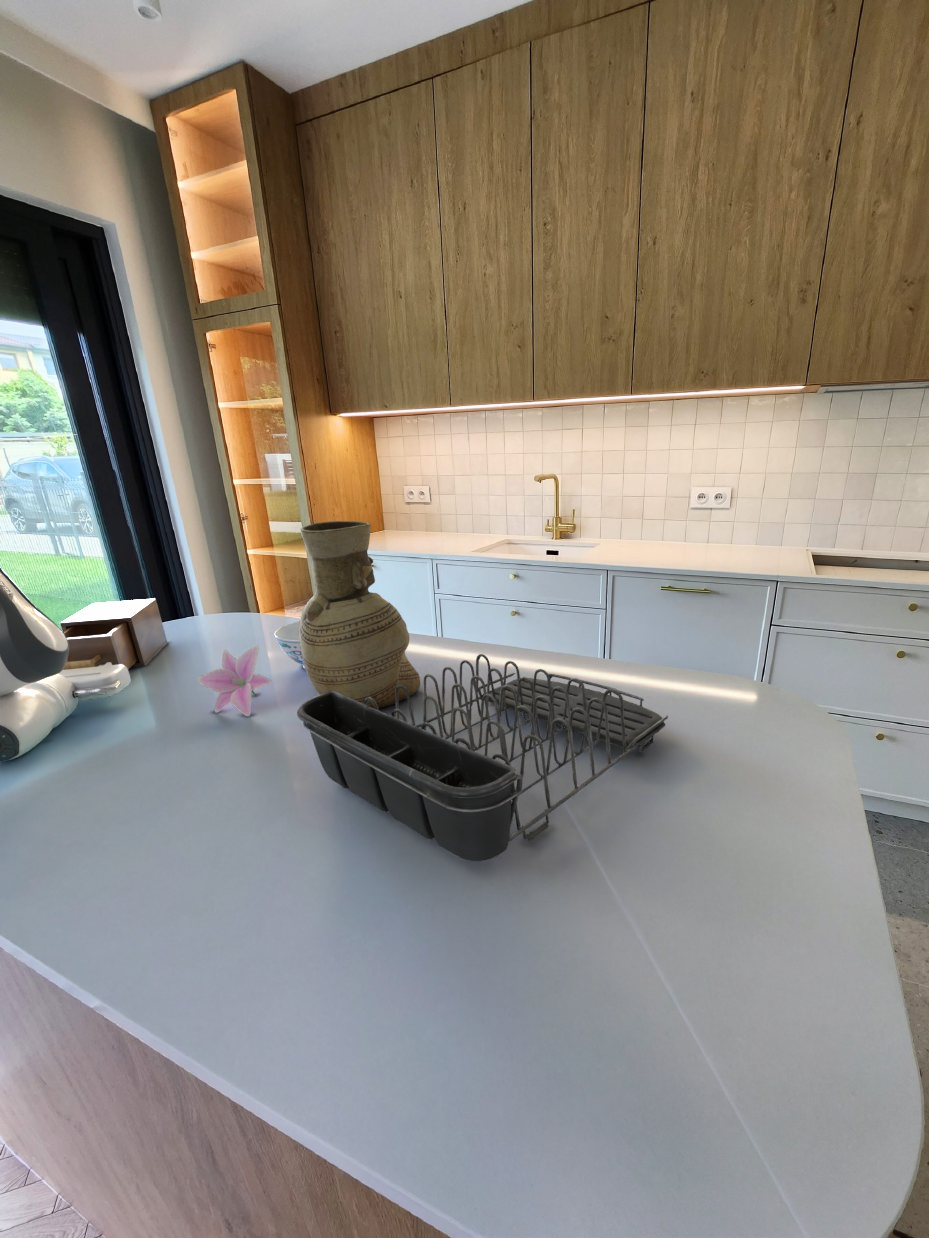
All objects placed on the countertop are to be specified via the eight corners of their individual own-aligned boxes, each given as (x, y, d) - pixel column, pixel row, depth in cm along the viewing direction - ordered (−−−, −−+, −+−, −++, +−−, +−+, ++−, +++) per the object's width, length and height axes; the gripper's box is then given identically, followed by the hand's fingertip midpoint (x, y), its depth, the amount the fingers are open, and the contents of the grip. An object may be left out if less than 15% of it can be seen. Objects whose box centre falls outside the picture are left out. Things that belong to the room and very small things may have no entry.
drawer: (113, 688, 108) (99, 643, 104) (43, 696, 106) (26, 650, 102) (148, 654, 125) (137, 615, 122) (89, 660, 123) (75, 620, 119)
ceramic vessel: (407, 668, 116) (391, 511, 104) (432, 709, 98) (416, 526, 86) (307, 683, 110) (278, 519, 98) (314, 730, 92) (279, 536, 80)
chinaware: (266, 669, 118) (258, 632, 115) (326, 648, 129) (321, 614, 126) (313, 684, 110) (306, 645, 107) (373, 660, 121) (368, 624, 118)
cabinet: (145, 666, 121) (130, 617, 117) (76, 673, 119) (59, 622, 115) (167, 643, 135) (155, 598, 131) (107, 648, 133) (92, 603, 129)
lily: (202, 707, 104) (177, 673, 96) (255, 665, 110) (235, 630, 102) (245, 740, 100) (223, 708, 92) (298, 695, 105) (281, 661, 98)
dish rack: (298, 783, 78) (281, 701, 73) (519, 683, 107) (518, 620, 103) (476, 907, 56) (469, 801, 52) (691, 739, 86) (699, 662, 81)
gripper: (107, 673, 96) (136, 647, 109) (-37, 688, 92) (10, 658, 104) (119, 708, 99) (146, 678, 111) (-22, 723, 94) (23, 691, 107)
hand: (79, 669), depth 108 cm, fingers open, 8 cm apart
